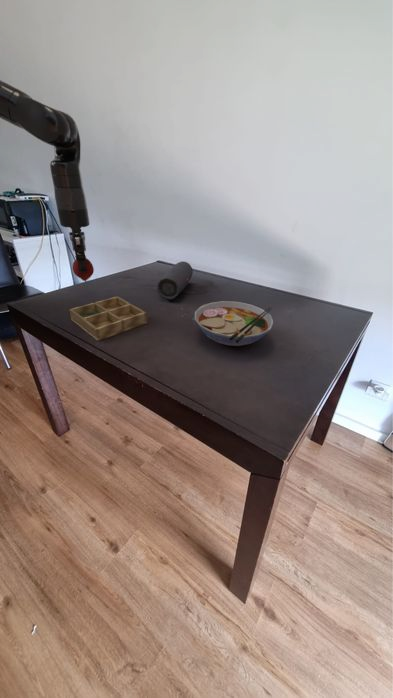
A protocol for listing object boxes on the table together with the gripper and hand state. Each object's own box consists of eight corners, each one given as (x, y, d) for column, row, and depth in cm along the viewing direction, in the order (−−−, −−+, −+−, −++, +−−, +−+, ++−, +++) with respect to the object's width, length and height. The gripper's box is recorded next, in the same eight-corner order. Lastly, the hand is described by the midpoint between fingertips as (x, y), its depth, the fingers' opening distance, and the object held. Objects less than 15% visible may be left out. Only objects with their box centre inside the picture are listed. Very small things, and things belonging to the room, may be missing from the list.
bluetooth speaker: (180, 304, 106) (180, 278, 100) (156, 301, 107) (155, 275, 102) (193, 284, 125) (194, 261, 119) (173, 281, 126) (173, 258, 121)
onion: (93, 276, 90) (89, 250, 86) (96, 282, 86) (92, 255, 81) (74, 278, 88) (68, 252, 83) (76, 284, 83) (71, 257, 79)
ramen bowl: (219, 314, 100) (221, 292, 96) (281, 334, 89) (287, 310, 85) (175, 343, 82) (175, 317, 78) (245, 372, 72) (250, 345, 67)
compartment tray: (97, 341, 82) (95, 329, 80) (71, 320, 92) (69, 309, 90) (147, 323, 92) (146, 312, 90) (118, 306, 102) (117, 296, 100)
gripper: (57, 203, 80) (69, 263, 89) (55, 210, 69) (69, 278, 78) (85, 203, 82) (94, 261, 91) (88, 210, 71) (98, 275, 80)
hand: (83, 268), depth 85 cm, fingers closed on onion, 6 cm apart
